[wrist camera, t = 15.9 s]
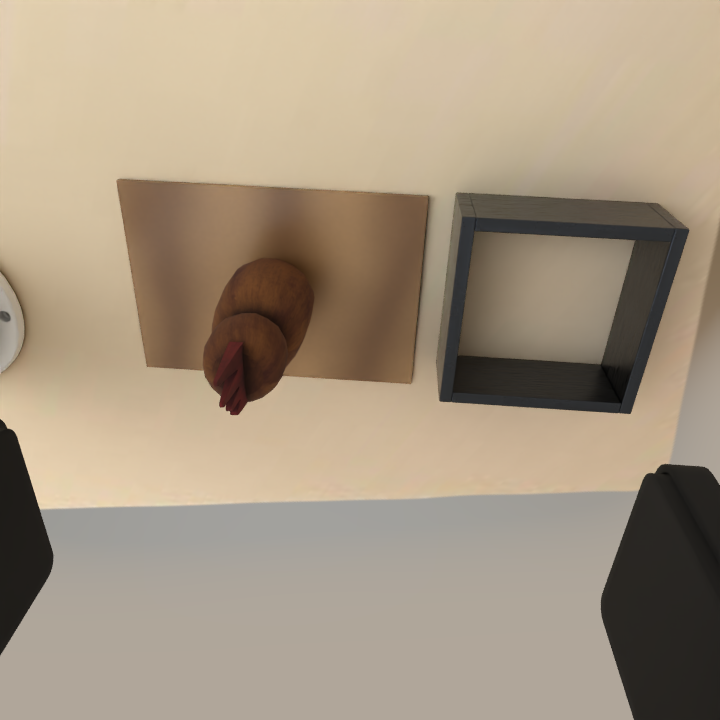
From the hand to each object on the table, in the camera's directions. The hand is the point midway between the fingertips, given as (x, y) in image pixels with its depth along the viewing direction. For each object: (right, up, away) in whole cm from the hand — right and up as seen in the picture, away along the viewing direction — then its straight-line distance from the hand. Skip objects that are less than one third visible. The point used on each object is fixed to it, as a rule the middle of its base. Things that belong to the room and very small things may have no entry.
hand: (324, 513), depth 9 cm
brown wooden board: (-5, +7, +34) cm, 35 cm away
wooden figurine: (-5, +7, +33) cm, 35 cm away
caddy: (+13, +7, +32) cm, 36 cm away
